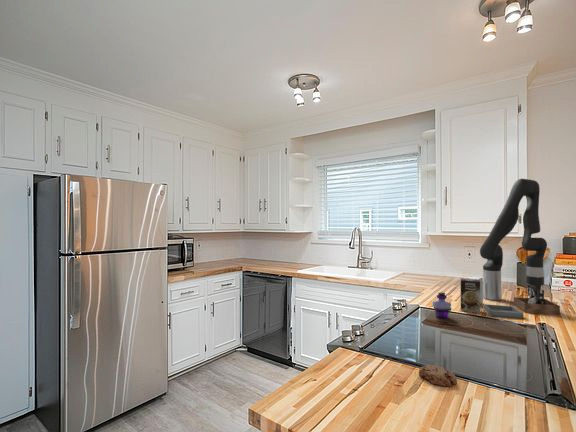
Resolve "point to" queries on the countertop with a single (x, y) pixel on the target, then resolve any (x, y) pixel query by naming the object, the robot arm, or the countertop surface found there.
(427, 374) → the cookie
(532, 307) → the walnut frame
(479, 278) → the skincare box
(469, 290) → the coffee box
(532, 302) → the frog figurine
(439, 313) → the potion bottle
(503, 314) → the charcoal tray
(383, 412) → the countertop surface
